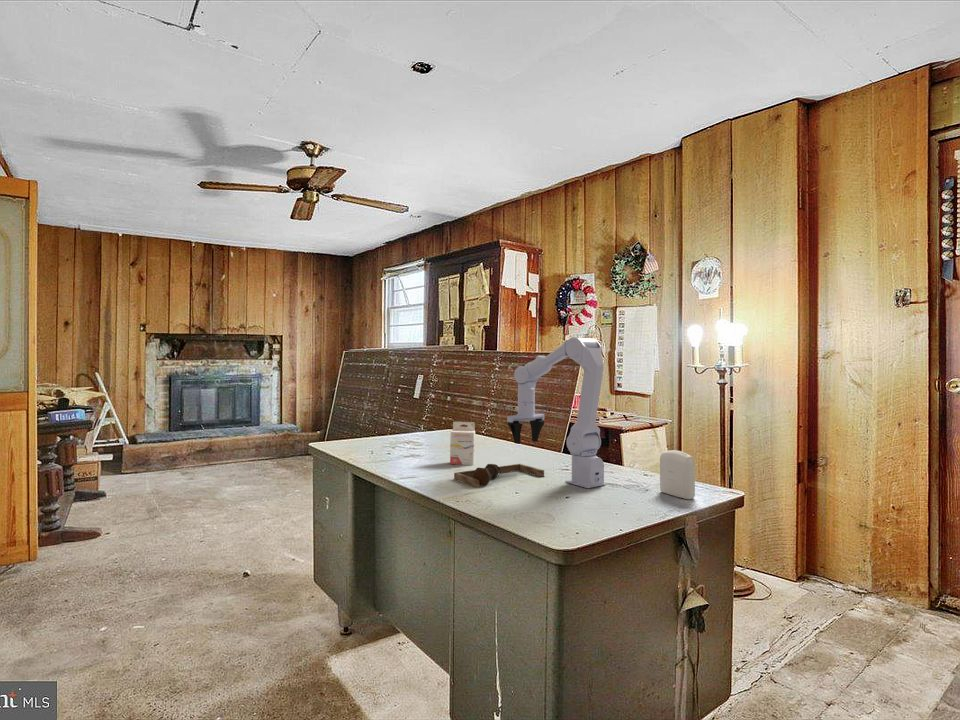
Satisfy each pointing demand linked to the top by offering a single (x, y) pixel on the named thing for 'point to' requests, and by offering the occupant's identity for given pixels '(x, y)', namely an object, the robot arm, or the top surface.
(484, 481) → the bolt
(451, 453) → the ink cartridge box
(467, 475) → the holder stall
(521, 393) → the robot arm
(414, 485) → the top surface
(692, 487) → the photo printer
